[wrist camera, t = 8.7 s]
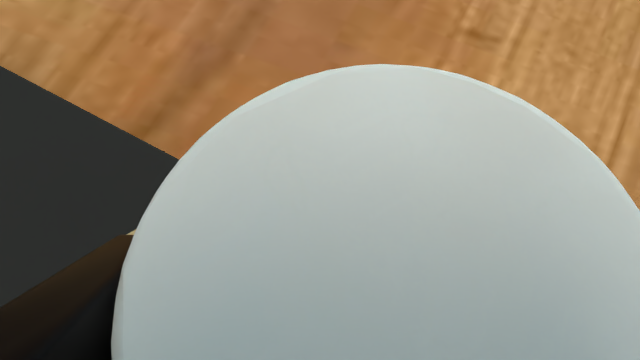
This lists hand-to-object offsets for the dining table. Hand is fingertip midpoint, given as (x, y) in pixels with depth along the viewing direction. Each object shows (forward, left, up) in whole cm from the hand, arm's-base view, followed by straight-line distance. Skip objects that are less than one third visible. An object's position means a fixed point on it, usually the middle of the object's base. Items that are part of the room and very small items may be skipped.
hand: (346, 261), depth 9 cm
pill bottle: (-1, 0, -7) cm, 7 cm away
